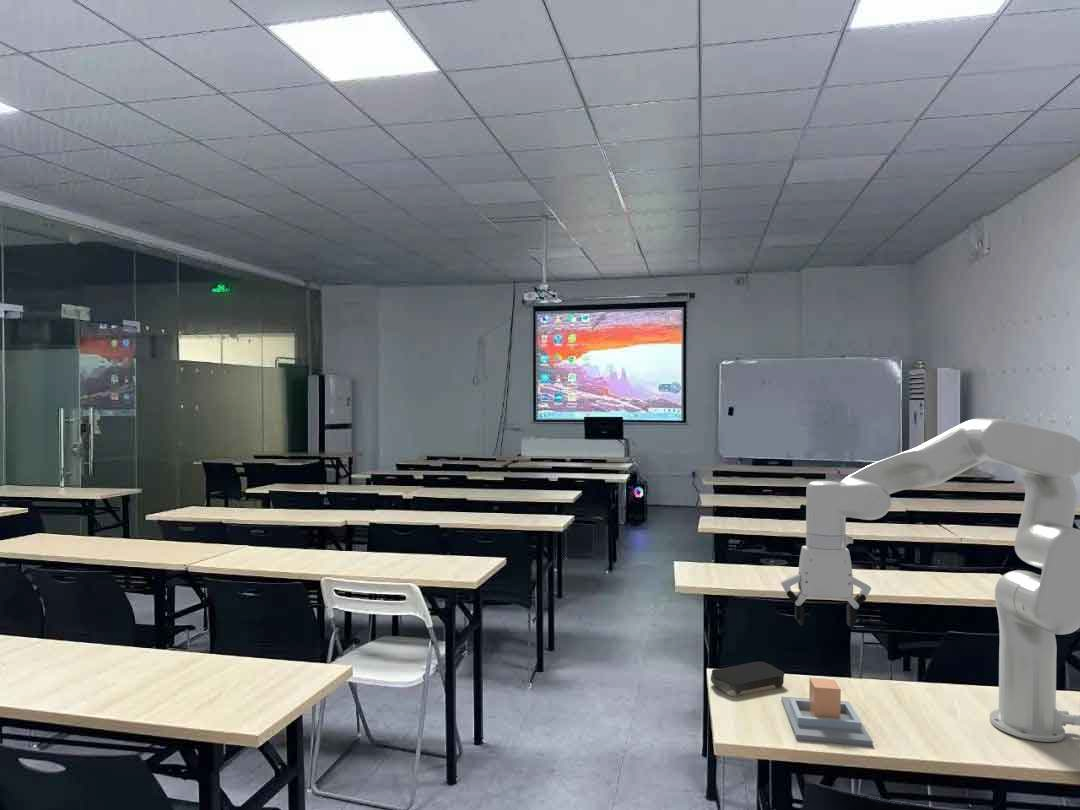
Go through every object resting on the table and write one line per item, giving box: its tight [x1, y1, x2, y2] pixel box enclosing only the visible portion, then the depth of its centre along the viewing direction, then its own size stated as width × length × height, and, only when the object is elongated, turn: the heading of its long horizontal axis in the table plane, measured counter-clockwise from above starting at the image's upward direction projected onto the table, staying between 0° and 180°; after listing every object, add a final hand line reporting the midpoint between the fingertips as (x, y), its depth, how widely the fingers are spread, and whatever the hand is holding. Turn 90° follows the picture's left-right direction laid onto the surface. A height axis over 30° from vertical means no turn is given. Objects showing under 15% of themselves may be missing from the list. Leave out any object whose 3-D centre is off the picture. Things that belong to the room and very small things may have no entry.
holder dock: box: [780, 696, 874, 747], centre depth 145 cm, size 14×18×2 cm
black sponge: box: [710, 661, 785, 697], centre depth 164 cm, size 16×8×4 cm, turn 113°
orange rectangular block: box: [808, 677, 842, 719], centre depth 145 cm, size 5×5×7 cm
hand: (825, 624), depth 145 cm, fingers open, 9 cm apart
